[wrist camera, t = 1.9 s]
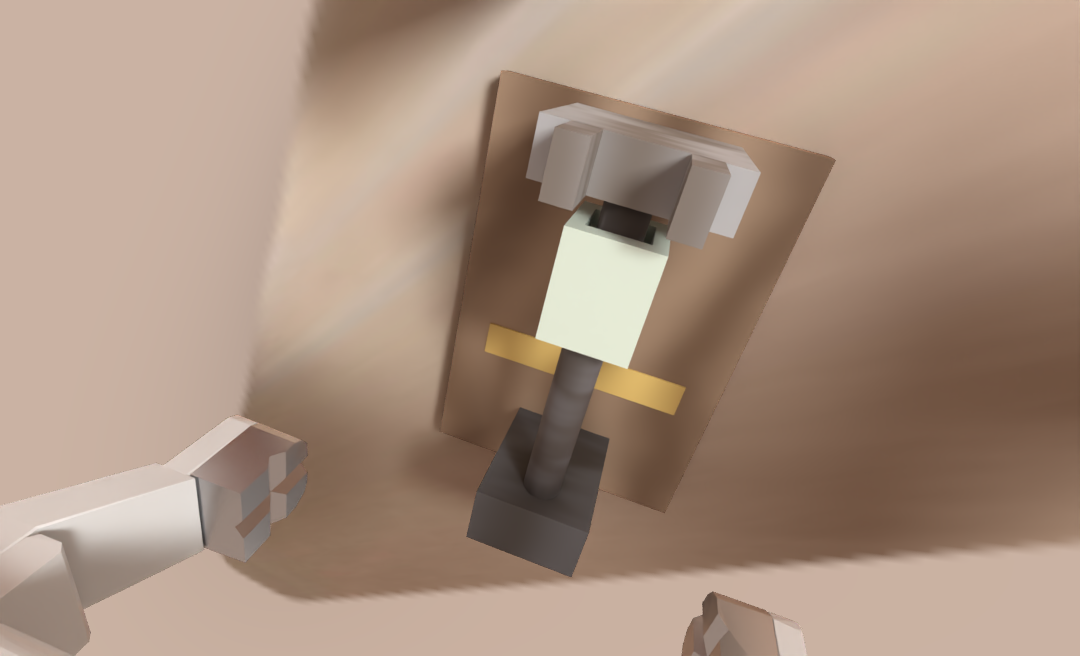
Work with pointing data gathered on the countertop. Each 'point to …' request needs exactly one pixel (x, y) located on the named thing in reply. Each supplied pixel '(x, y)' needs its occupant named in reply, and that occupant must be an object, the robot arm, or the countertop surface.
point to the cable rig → (669, 329)
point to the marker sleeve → (601, 287)
